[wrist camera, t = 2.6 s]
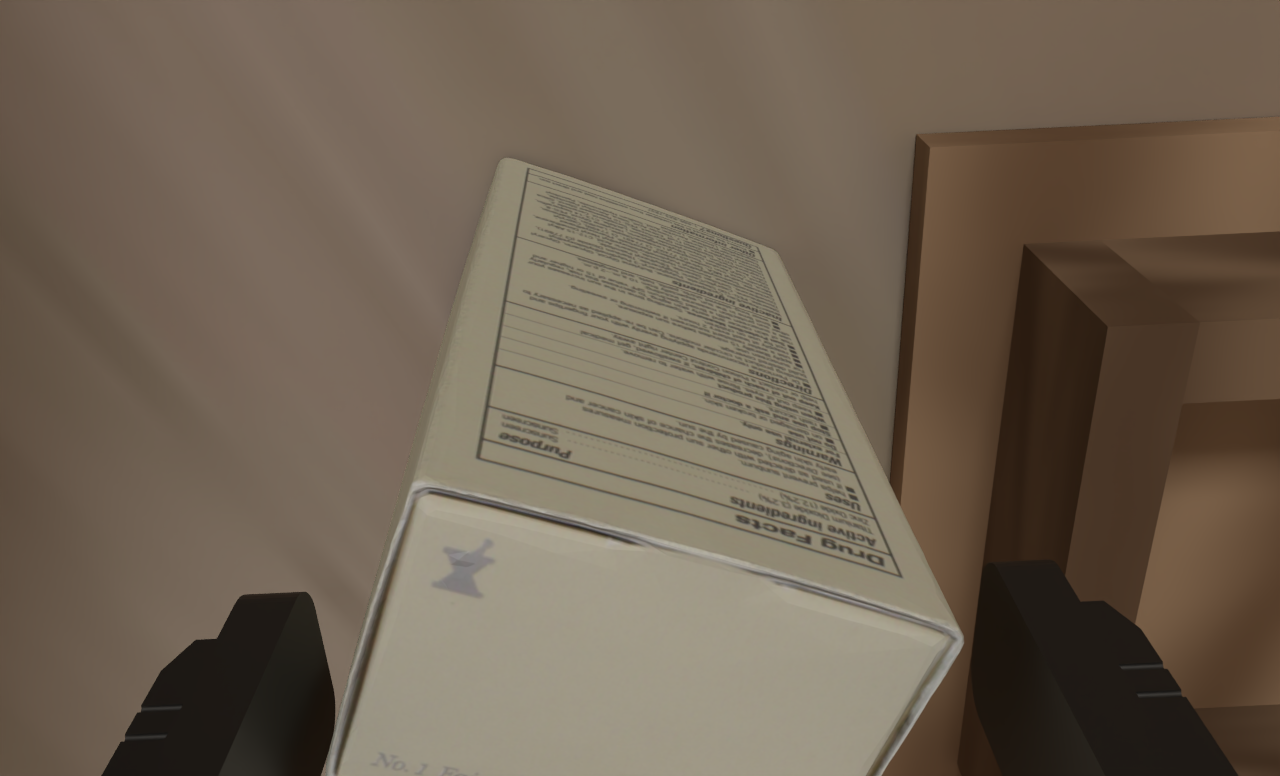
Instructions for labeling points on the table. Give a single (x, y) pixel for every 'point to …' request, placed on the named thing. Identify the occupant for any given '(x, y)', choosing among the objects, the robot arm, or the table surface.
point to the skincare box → (637, 522)
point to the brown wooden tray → (1100, 401)
